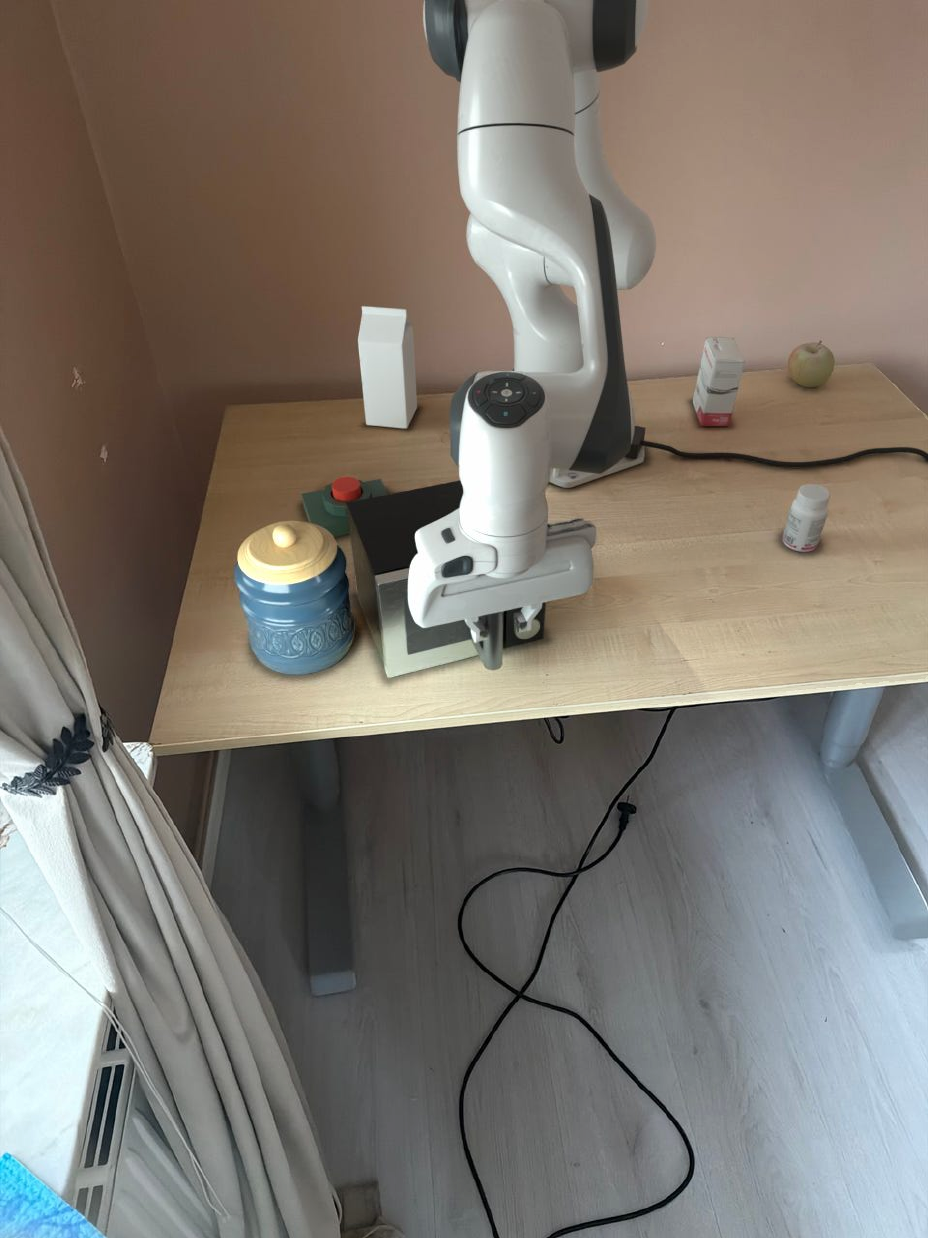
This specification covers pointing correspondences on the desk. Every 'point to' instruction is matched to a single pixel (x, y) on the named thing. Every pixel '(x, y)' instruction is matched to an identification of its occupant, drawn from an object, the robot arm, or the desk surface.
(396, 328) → the milk carton
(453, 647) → the microwave door
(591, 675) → the desk surface
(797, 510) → the pill bottle
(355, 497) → the release button
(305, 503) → the block
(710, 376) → the ink box
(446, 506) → the microwave
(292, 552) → the canister
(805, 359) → the fruit
